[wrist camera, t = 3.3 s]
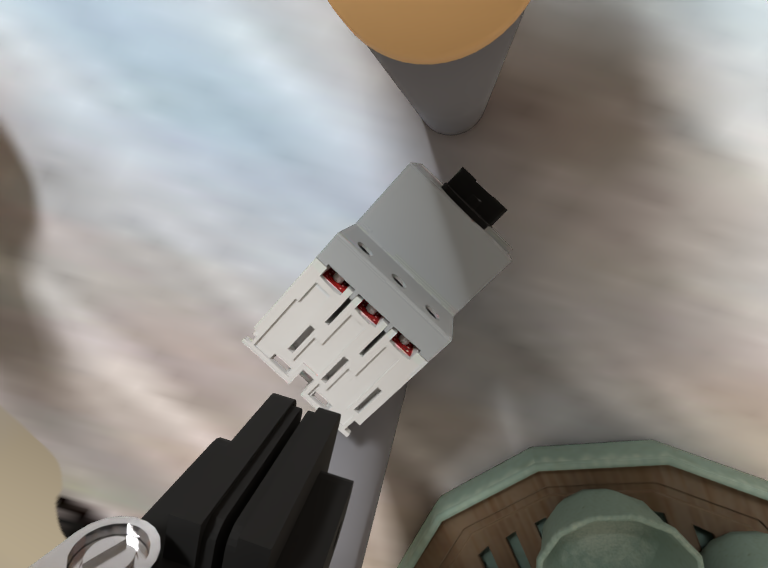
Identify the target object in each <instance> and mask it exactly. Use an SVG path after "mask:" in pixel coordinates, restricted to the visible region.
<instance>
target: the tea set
mask: <svg viewBox="0 0 768 568" xmlns="http://www.w3.org/2000/svg"><path fill="white" fill-rule="evenodd" d="M397 568H768V481H766V480H764V479H761V478H758V477H755V476H753V475H750V474H747V473H744V472H741V471H739V470H736V469H733V468H730V467H727V466H725V465H722V464H719V463H716V462H713V461H711V460H708V459H705V458H702V457H699V456H697V455H694V454H691V453H688V452H685V451H683V450H680V449H677V448H674V447H671V446H669V445H666V444H663V443H660V442H657V441H655V440H637V441H621V442H604V443H588V444H572V445H555V446H539V447H531V448H529V449H527V450H525V451H523V452H522V453H520V454H518V455H516V456H514V457H512V458H510V459H509V460H507V461H505V462H503V463H501V464H499V465H497V466H496V467H494V468H492V469H490V470H488V471H486V472H484V473H483V474H481V475H479V476H477V477H475V478H473V479H471V480H470V481H468V482H466V483H464V484H462V485H460V486H458V487H457V488H455V489H453V490H451V491H449V492H447V493H445V494H444V495H442V496H441V497H440V498H439V500H438V501H437V502H436V504H435V505H434V507H433V509H432V510H431V512H430V514H429V515H428V517H427V519H426V520H425V522H424V524H423V525H422V527H421V529H420V530H419V532H418V534H417V535H416V537H415V539H414V540H413V542H412V544H411V545H410V547H409V549H408V550H407V552H406V554H405V555H404V557H403V559H402V560H401V562H400V564H399V565H398V567H397Z"/></svg>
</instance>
